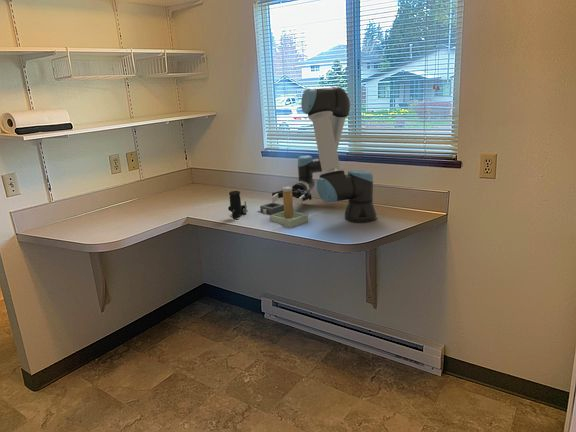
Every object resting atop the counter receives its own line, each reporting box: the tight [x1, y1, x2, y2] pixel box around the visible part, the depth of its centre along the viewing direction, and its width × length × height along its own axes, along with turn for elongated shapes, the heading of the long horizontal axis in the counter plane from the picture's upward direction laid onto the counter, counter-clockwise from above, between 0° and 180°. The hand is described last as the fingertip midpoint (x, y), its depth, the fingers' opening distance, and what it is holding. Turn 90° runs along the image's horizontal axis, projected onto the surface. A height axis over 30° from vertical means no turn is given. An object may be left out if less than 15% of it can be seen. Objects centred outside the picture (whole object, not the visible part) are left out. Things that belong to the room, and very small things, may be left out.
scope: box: [228, 190, 248, 221], centre depth 223 cm, size 8×14×10 cm
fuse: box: [282, 186, 294, 220], centre depth 212 cm, size 5×5×16 cm
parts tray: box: [269, 210, 309, 229], centre depth 214 cm, size 14×12×4 cm
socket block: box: [256, 201, 284, 216], centre depth 231 cm, size 12×12×4 cm
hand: (286, 200), depth 209 cm, fingers open, 13 cm apart
